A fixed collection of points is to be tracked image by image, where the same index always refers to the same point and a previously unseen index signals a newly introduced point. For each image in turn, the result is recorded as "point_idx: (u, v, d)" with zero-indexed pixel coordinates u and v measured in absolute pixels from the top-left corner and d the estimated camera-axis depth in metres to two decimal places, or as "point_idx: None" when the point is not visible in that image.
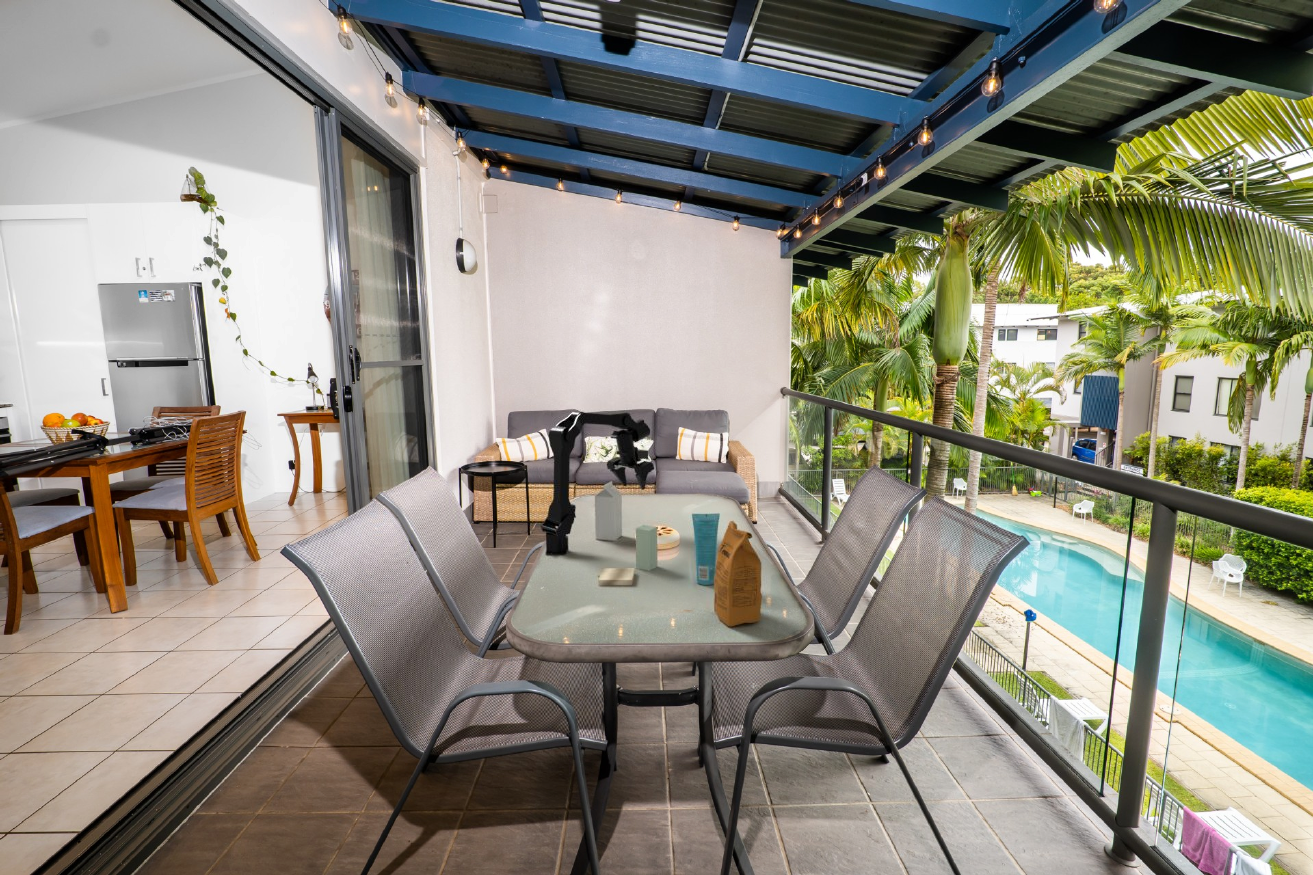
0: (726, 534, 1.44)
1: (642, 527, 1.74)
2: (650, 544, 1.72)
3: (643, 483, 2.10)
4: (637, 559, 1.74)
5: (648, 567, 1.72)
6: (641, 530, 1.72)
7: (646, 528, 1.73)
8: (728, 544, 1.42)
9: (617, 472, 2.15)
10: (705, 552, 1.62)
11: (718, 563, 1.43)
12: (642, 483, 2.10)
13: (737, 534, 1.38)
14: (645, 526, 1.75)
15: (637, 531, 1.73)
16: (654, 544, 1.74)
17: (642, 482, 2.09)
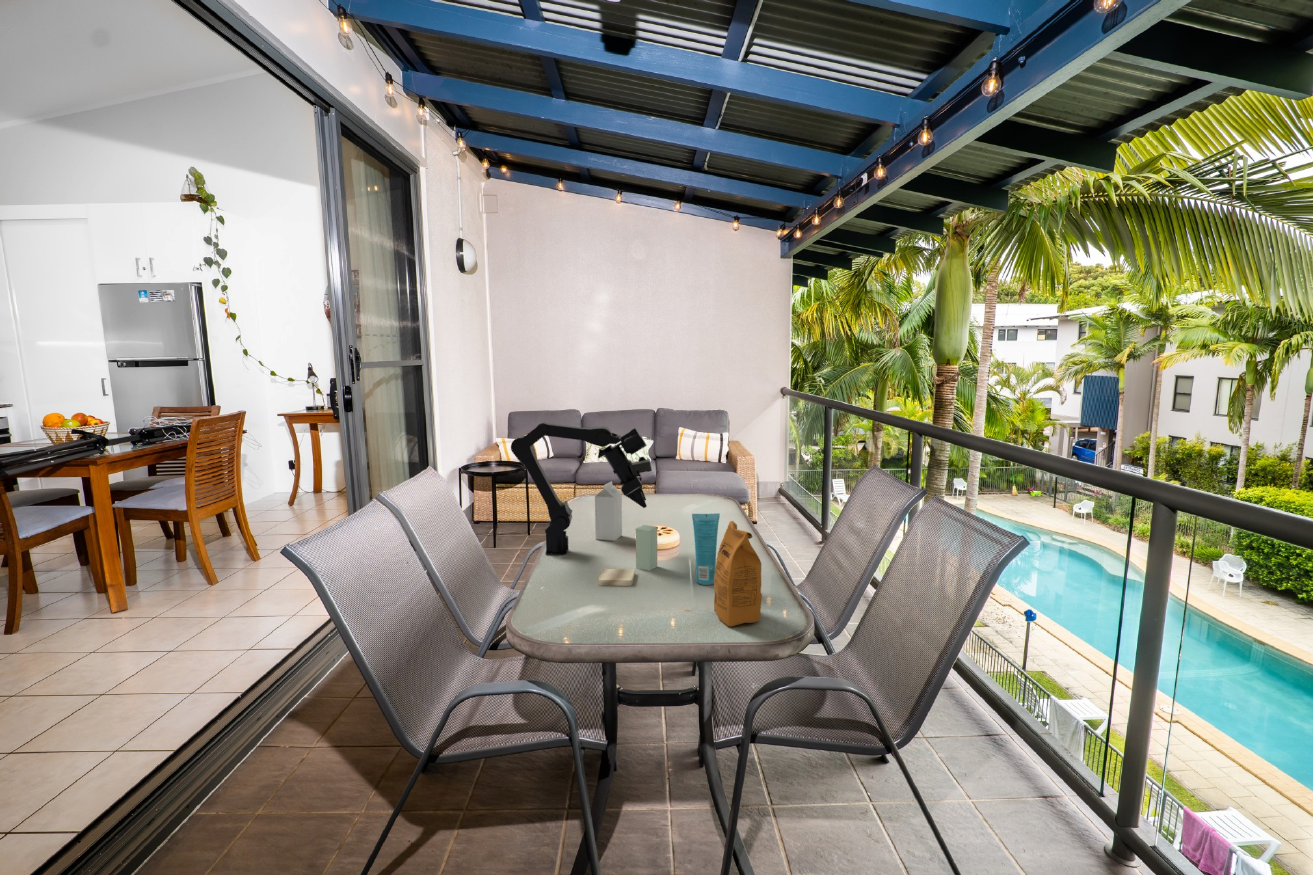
0: (726, 534, 1.44)
1: (642, 527, 1.74)
2: (650, 544, 1.72)
3: (640, 501, 1.86)
4: (637, 559, 1.74)
5: (648, 567, 1.72)
6: (641, 530, 1.72)
7: (646, 528, 1.73)
8: (728, 544, 1.42)
9: None
10: (705, 552, 1.62)
11: (718, 563, 1.43)
12: (638, 501, 1.85)
13: (737, 534, 1.38)
14: (645, 526, 1.75)
15: (637, 531, 1.73)
16: (654, 544, 1.74)
17: (637, 501, 1.85)
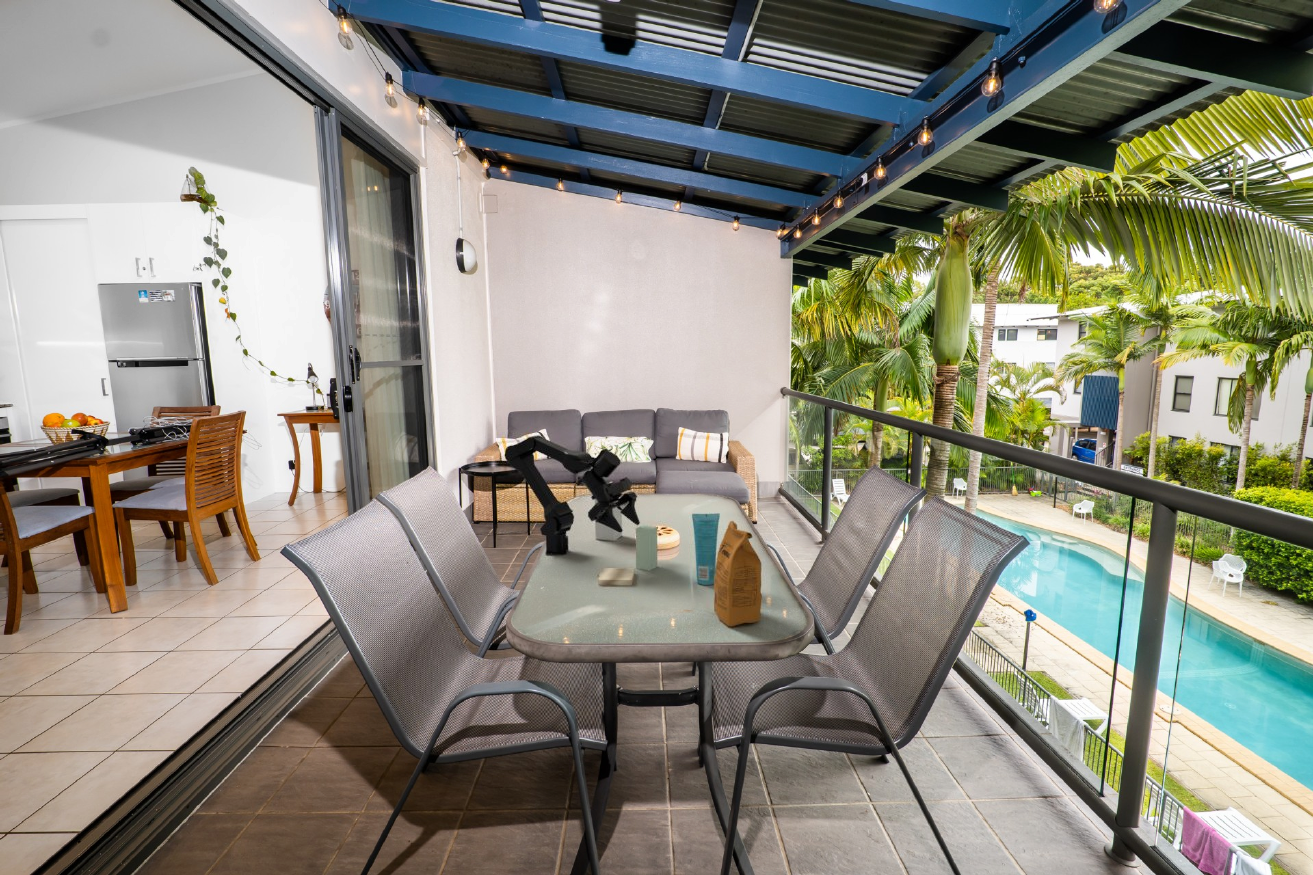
0: (726, 534, 1.44)
1: (642, 527, 1.74)
2: (650, 544, 1.72)
3: (613, 526, 1.73)
4: (637, 559, 1.74)
5: (648, 567, 1.72)
6: (641, 530, 1.72)
7: (646, 528, 1.73)
8: (728, 544, 1.42)
9: (623, 512, 1.83)
10: (705, 552, 1.62)
11: (718, 563, 1.43)
12: (612, 526, 1.73)
13: (737, 534, 1.38)
14: (645, 526, 1.75)
15: (637, 531, 1.73)
16: (654, 544, 1.74)
17: (611, 526, 1.73)
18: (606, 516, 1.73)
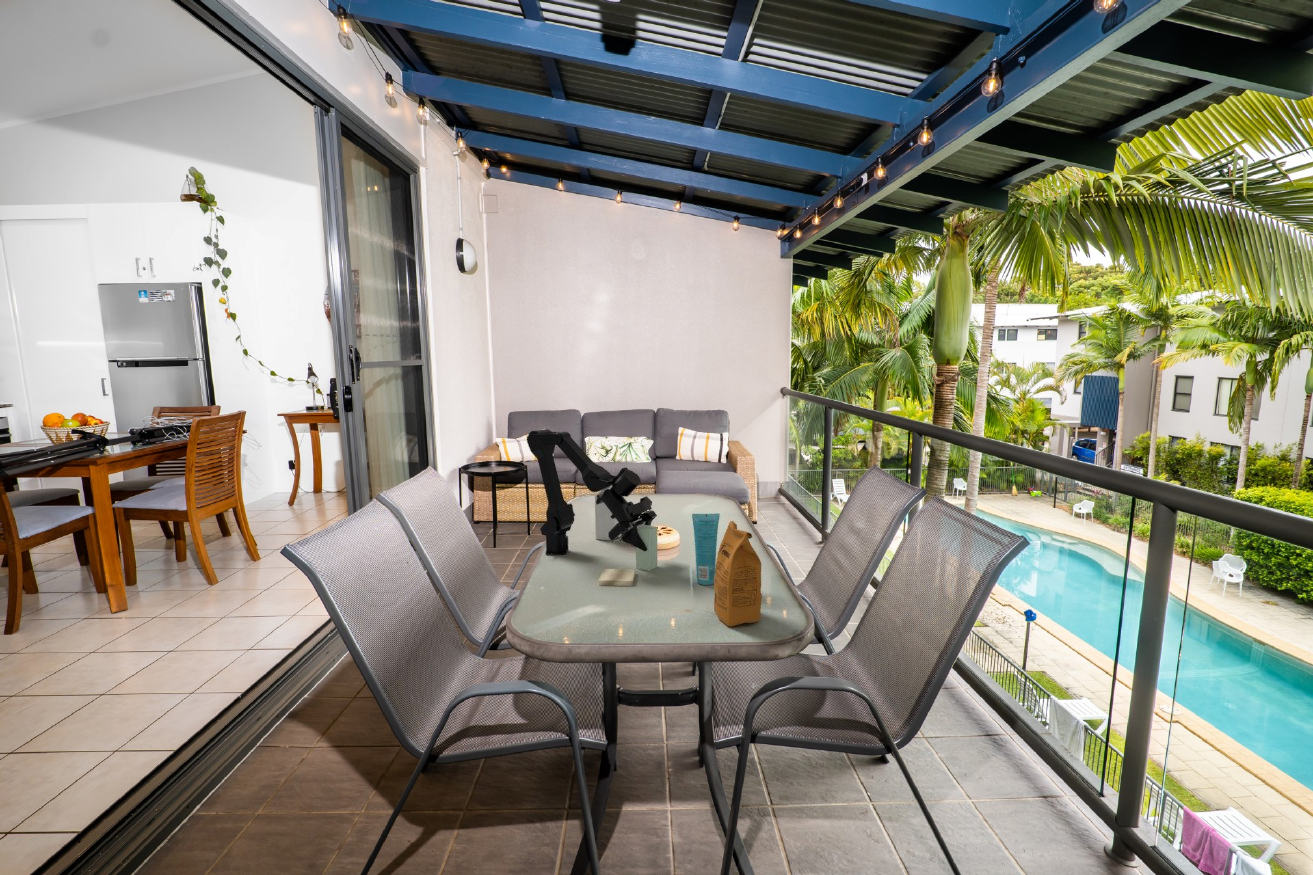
0: (726, 534, 1.44)
1: (642, 527, 1.74)
2: (650, 544, 1.72)
3: (638, 544, 1.72)
4: (637, 559, 1.74)
5: (648, 567, 1.72)
6: (641, 530, 1.72)
7: (646, 528, 1.73)
8: (728, 544, 1.42)
9: None
10: (705, 552, 1.62)
11: (718, 563, 1.43)
12: (636, 545, 1.72)
13: (737, 534, 1.38)
14: (645, 526, 1.75)
15: (637, 531, 1.73)
16: (654, 544, 1.74)
17: (635, 544, 1.72)
18: (631, 535, 1.72)
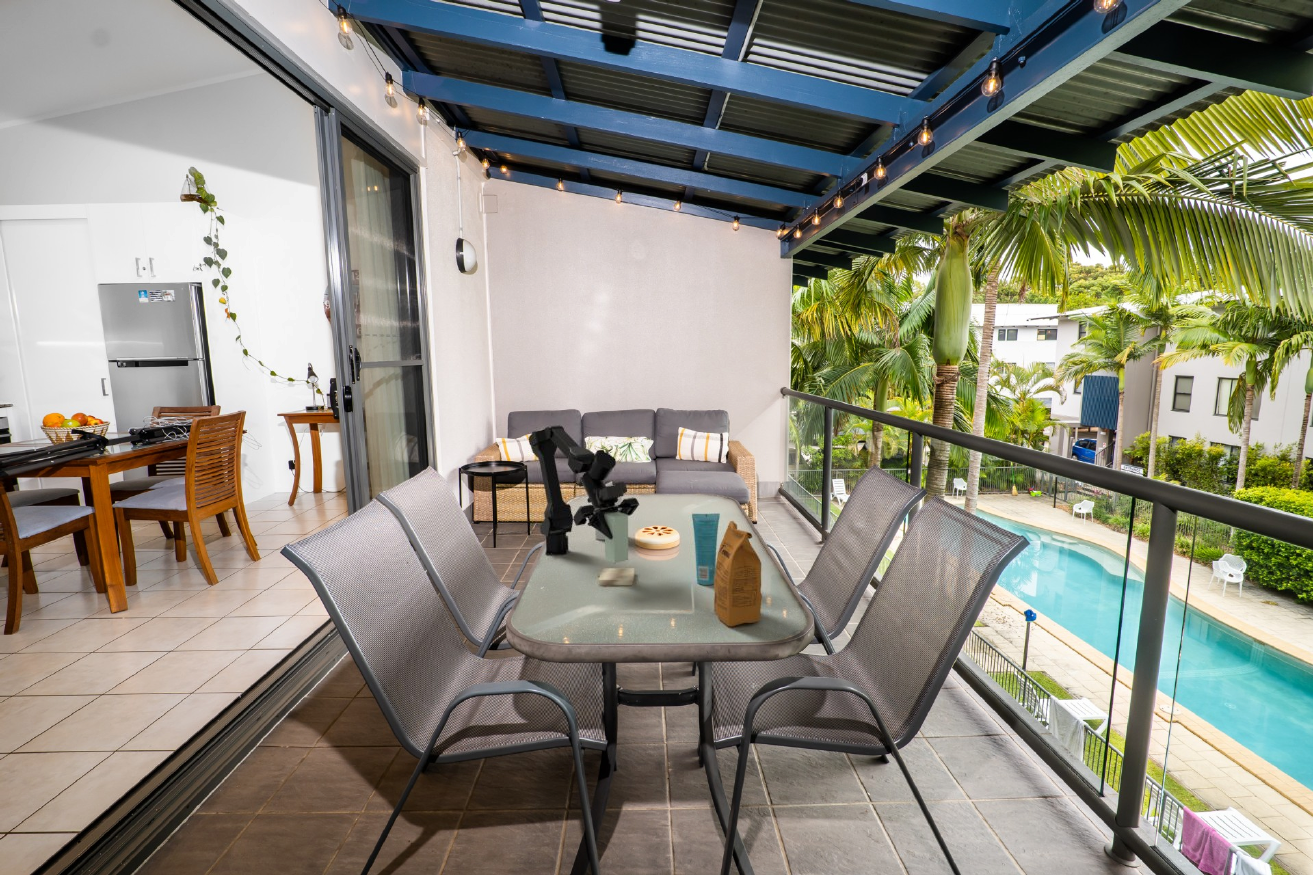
0: (726, 534, 1.44)
1: (612, 514, 1.64)
2: (615, 532, 1.61)
3: (604, 531, 1.62)
4: (605, 547, 1.64)
5: (613, 557, 1.62)
6: (609, 516, 1.62)
7: (615, 515, 1.63)
8: (728, 544, 1.42)
9: None
10: (705, 552, 1.62)
11: (718, 563, 1.43)
12: (603, 532, 1.62)
13: (737, 534, 1.38)
14: (617, 513, 1.65)
15: (605, 517, 1.63)
16: (623, 533, 1.62)
17: (602, 531, 1.63)
18: (599, 520, 1.63)
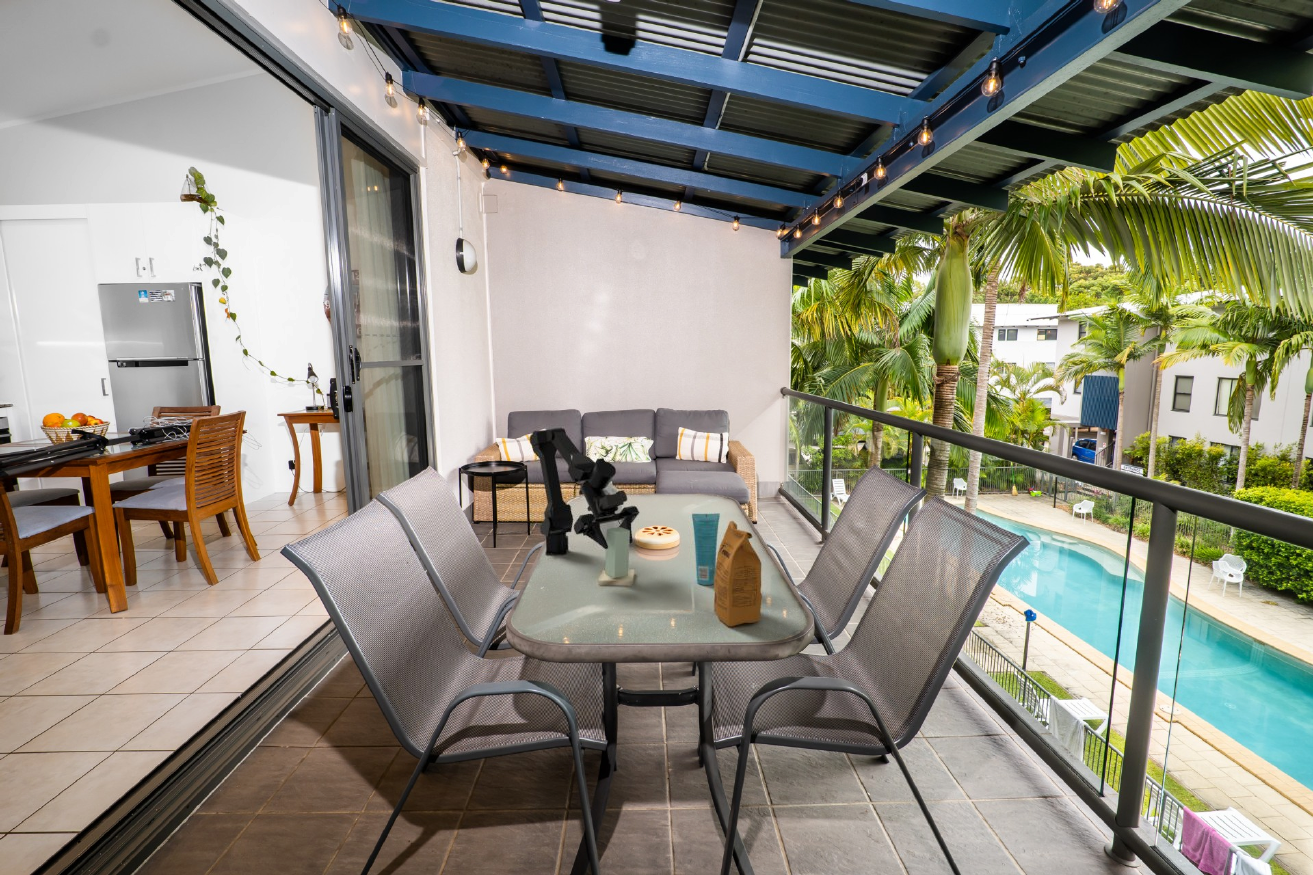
0: (726, 534, 1.44)
1: (614, 529, 1.64)
2: (617, 547, 1.61)
3: (599, 541, 1.61)
4: (606, 562, 1.65)
5: (613, 572, 1.62)
6: (611, 531, 1.63)
7: (617, 530, 1.63)
8: (728, 544, 1.42)
9: None
10: (705, 552, 1.62)
11: (718, 563, 1.43)
12: (598, 541, 1.62)
13: (737, 534, 1.38)
14: (619, 528, 1.65)
15: (607, 532, 1.64)
16: (624, 548, 1.63)
17: (597, 541, 1.62)
18: (594, 530, 1.63)
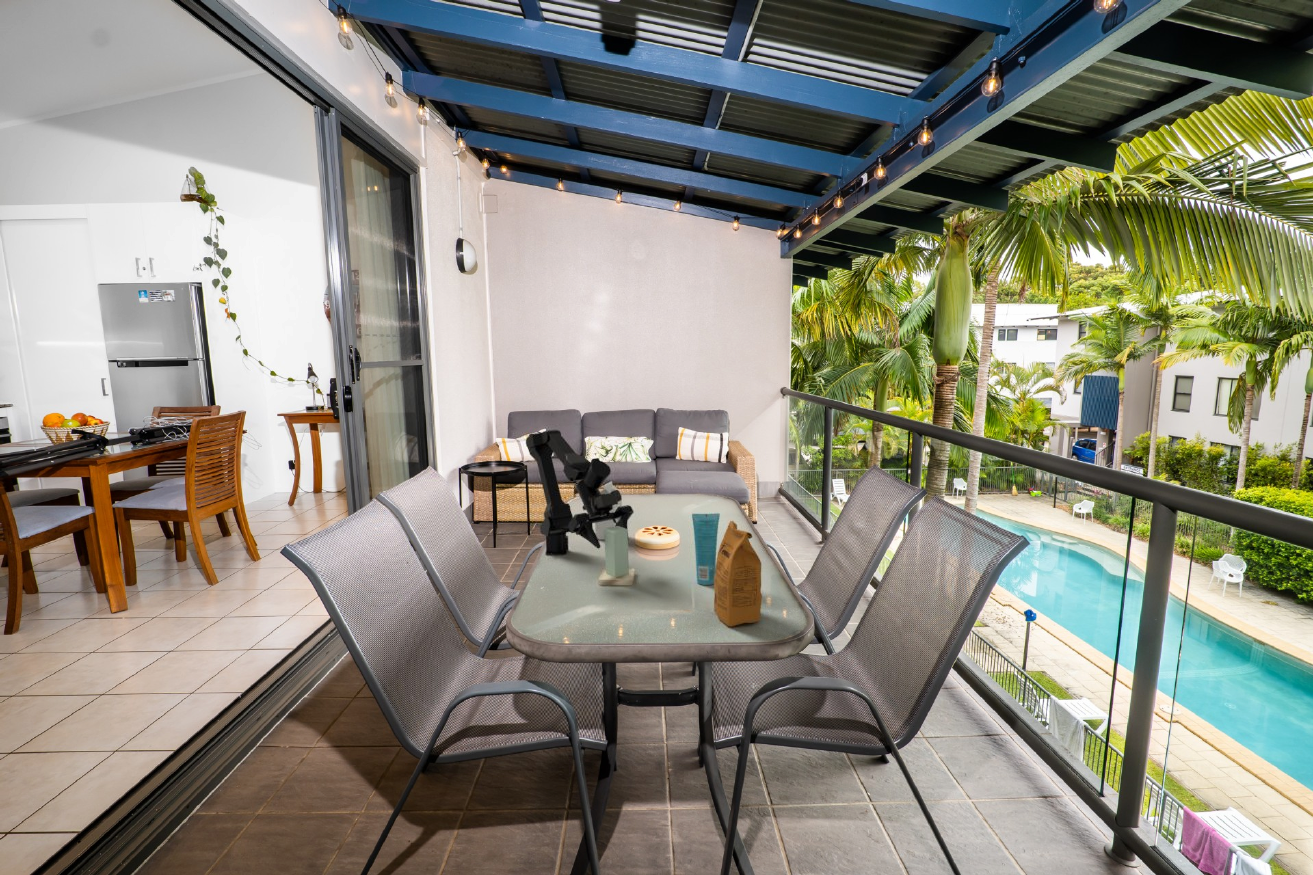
0: (726, 534, 1.44)
1: (612, 528, 1.64)
2: (615, 547, 1.61)
3: (592, 540, 1.63)
4: (606, 561, 1.65)
5: (614, 571, 1.62)
6: (608, 531, 1.62)
7: (615, 529, 1.63)
8: (728, 544, 1.42)
9: None
10: (705, 552, 1.62)
11: (718, 563, 1.43)
12: (591, 541, 1.64)
13: (737, 534, 1.38)
14: (617, 527, 1.65)
15: (605, 532, 1.64)
16: (623, 547, 1.63)
17: (590, 540, 1.64)
18: (586, 529, 1.65)
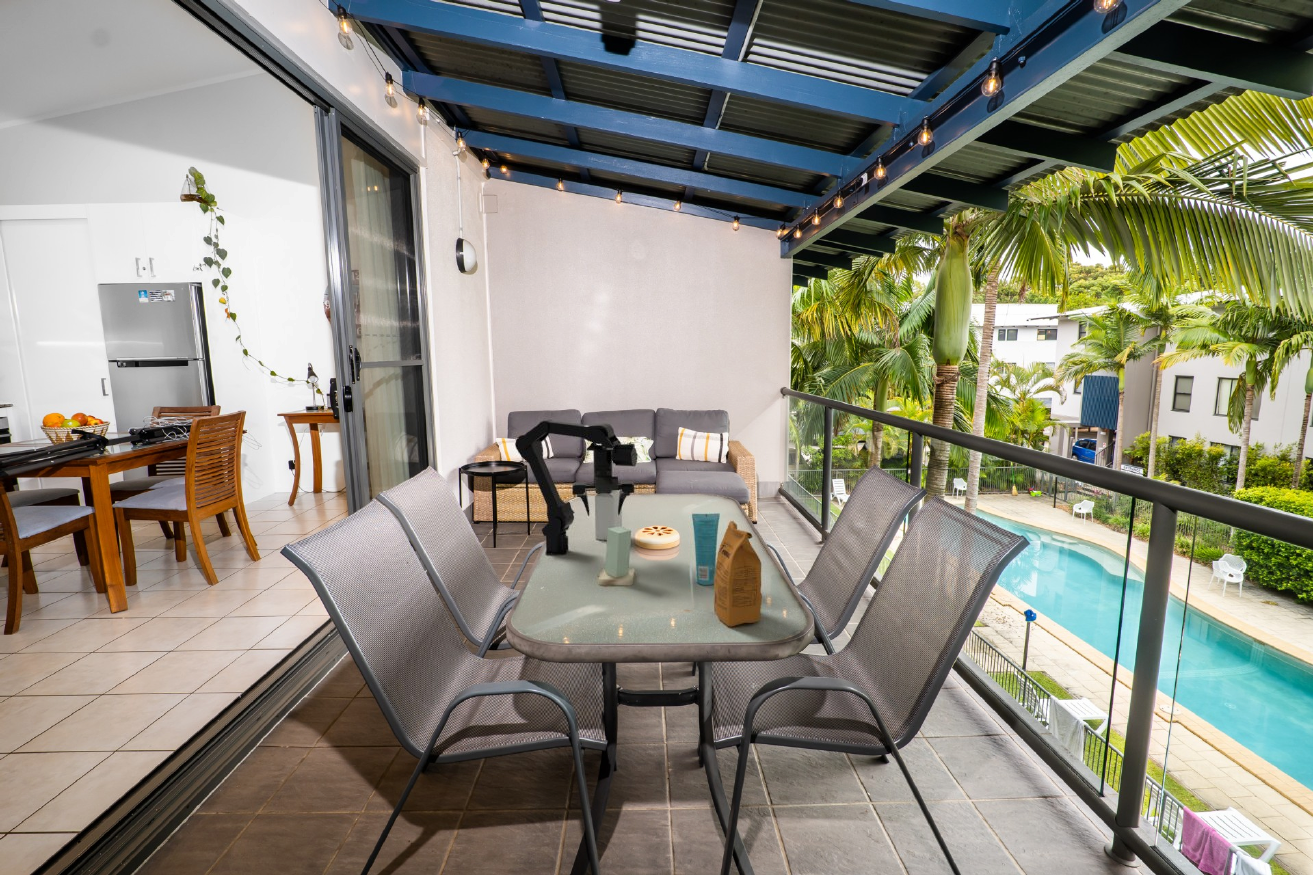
0: (726, 534, 1.44)
1: (615, 528, 1.64)
2: (619, 547, 1.61)
3: None
4: (606, 561, 1.64)
5: (615, 571, 1.62)
6: (612, 531, 1.62)
7: (618, 530, 1.63)
8: (728, 544, 1.42)
9: (619, 494, 1.88)
10: (705, 552, 1.62)
11: (718, 563, 1.43)
12: None
13: (737, 534, 1.38)
14: (620, 527, 1.65)
15: (608, 532, 1.63)
16: (625, 548, 1.63)
17: None
18: None
